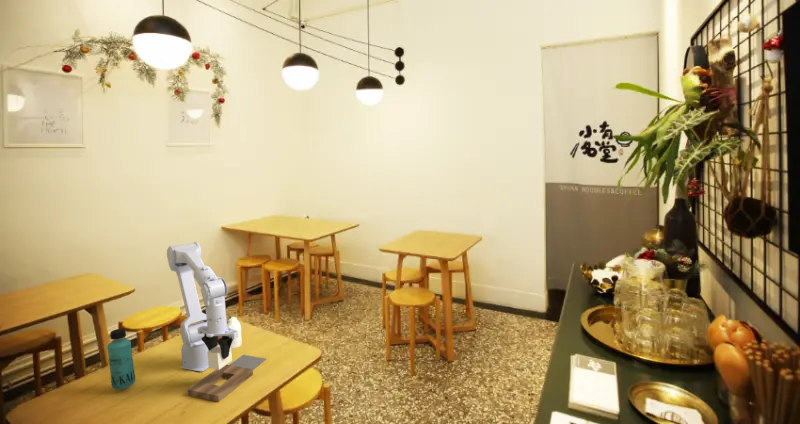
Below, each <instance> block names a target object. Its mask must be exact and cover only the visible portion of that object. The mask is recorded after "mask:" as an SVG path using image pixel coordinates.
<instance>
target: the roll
mask: <svg viewBox="0 0 800 424" xmlns="http://www.w3.org/2000/svg"><path fill="white" fill-rule="evenodd" d="M227 327H229V328H231V329H233V330H235V331H238V335H239V337H237V338H236V339H233V341H232V344H231V350H232V349H236V348H239V347H241V346H242V345H243V339H242V326H241V323H240V321H239V320H238V318H237V317H235V316H231V318H230V319H229V322H228V324H227Z"/></svg>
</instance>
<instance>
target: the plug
mask: <svg viewBox="0 0 800 424" xmlns="http://www.w3.org/2000/svg"><path fill="white" fill-rule="evenodd" d="M207 354H208V365H209V368H208V369H211V370H212V369H213V370H216V369H217V370H220V369H221V368H222V367H224V366H225V365H229V364H230V363H232V362H233V357H232V356H233V355H232V349H231V347H230V351H229V356H228V357H227V358H225V359H223V358H222V354H221V349H220V346H219V344H217V346H216V347H214V348H213V349H211V350H210V351H208V352H207Z"/></svg>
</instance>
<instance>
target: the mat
mask: <svg viewBox="0 0 800 424" xmlns="http://www.w3.org/2000/svg"><path fill="white" fill-rule="evenodd" d="M266 360H267V358H266V357H265V358H264V357H259V356H254V355H247V354H242V355H241V356H239V357H238V358H236V359H235V360H233V361H231V362H230V363H229V365H232V366H238V367H243V368H249V369H253V370H255V369H256V368H257V367H259V366H261V364H263V363H264V362H265V361H266Z"/></svg>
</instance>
